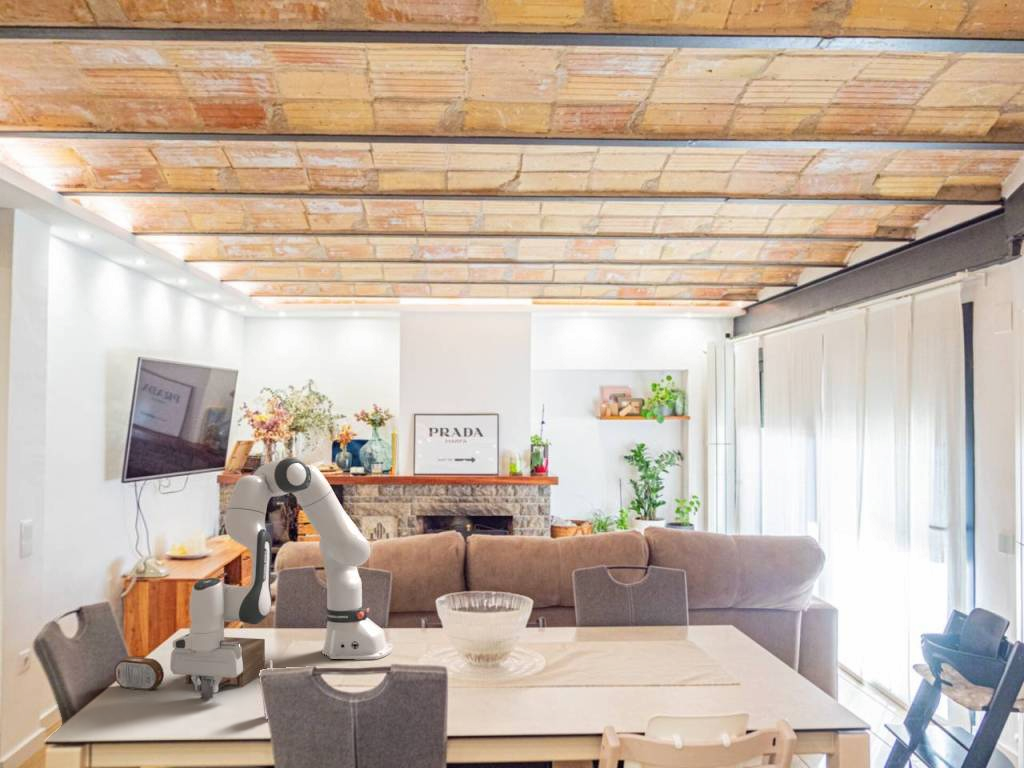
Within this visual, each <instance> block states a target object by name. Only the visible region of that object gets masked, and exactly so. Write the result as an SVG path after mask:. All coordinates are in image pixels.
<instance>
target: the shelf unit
mask: <svg viewBox="0 0 1024 768" xmlns="http://www.w3.org/2000/svg"><path fill="white" fill-rule="evenodd" d="M224 641H229V642H232V641H234V642H237V643H238V644H239V645H240V646H241V648H242V654H241V655H242V662H243V671H242V673H241V674H240V683H239V687H241V688H243V687H244V686H246V685H247V684H249V683H251V682H252V681H254V680H256V679H258V678H260V676H259V673H260V670H262V669H265V670H266V667H265V666H266V664H265V663H266V659H265V658H266V656H265V655H266V654H265V653H266V646H265V645H266V643H265V642H266V641H265V638H255V637H254V638H249V637H232V636H231V637H230V636H229V637H227V636H224ZM236 646H238V645H236ZM199 678H201V676H200V677H199ZM212 678H213V676H212ZM255 678H256V679H255ZM191 682H192V683H193V681H192V679H191V675H185V684H190V683H191ZM214 682H215V680H213V684H214ZM220 683H221V681H220Z"/></svg>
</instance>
